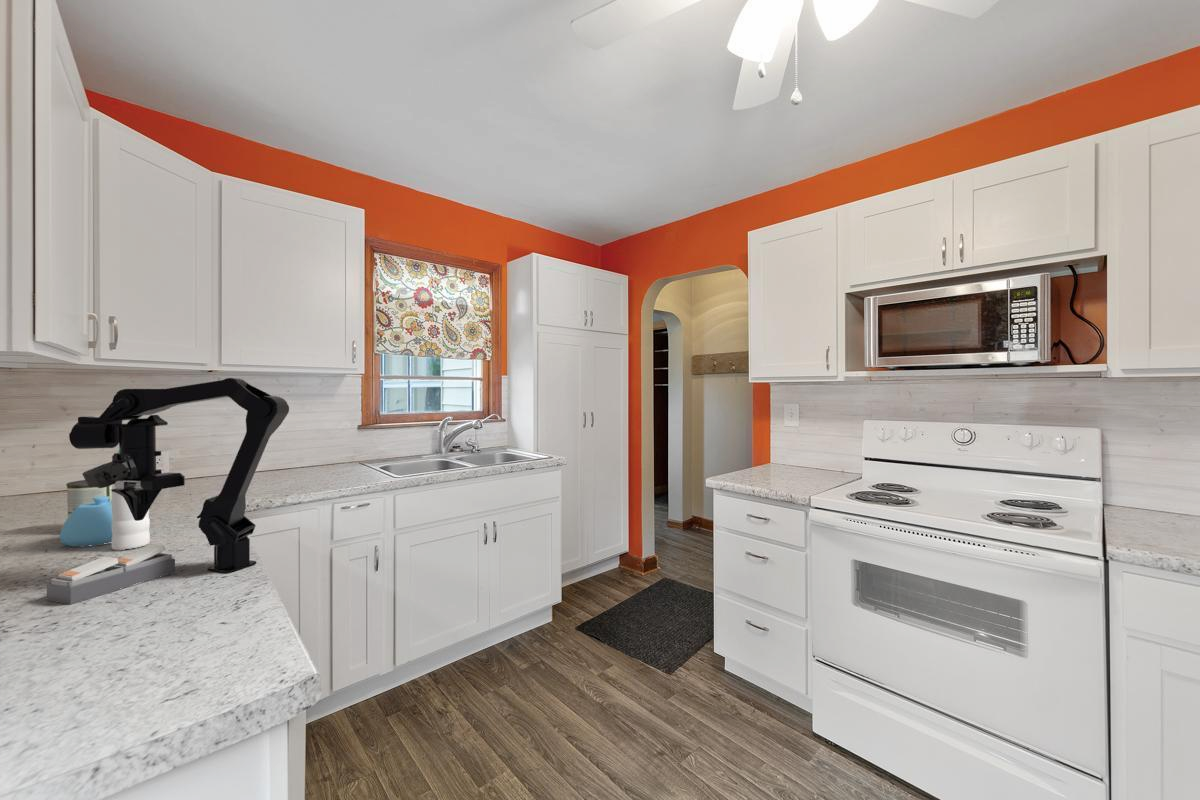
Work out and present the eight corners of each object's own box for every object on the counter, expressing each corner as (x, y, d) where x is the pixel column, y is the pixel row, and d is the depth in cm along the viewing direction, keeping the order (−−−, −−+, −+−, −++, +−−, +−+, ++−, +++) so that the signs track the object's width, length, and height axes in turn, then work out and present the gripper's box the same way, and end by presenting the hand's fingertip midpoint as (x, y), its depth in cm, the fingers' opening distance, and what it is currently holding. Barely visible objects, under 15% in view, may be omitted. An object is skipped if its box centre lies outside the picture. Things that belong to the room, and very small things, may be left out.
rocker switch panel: (175, 572, 106) (175, 554, 106) (70, 604, 90) (70, 583, 90) (152, 569, 108) (152, 551, 108) (46, 600, 92) (46, 579, 92)
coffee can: (65, 530, 140) (65, 481, 140) (115, 523, 148) (115, 476, 148) (68, 537, 133) (68, 485, 133) (121, 529, 141) (120, 480, 141)
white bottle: (126, 552, 120) (125, 450, 120) (103, 550, 122) (103, 449, 122) (157, 543, 127) (156, 447, 127) (135, 542, 129) (135, 446, 129)
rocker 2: (165, 549, 105) (163, 545, 105) (127, 568, 99) (125, 563, 99) (152, 548, 107) (151, 543, 106) (113, 566, 100) (112, 561, 100)
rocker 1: (118, 563, 98) (117, 557, 97) (73, 582, 91) (71, 576, 91) (105, 561, 99) (103, 556, 98) (59, 579, 92) (57, 574, 92)
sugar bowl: (154, 534, 136) (154, 493, 136) (84, 551, 121) (84, 504, 121) (116, 531, 140) (116, 490, 140) (44, 546, 125) (44, 501, 125)
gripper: (58, 450, 100) (59, 527, 100) (124, 452, 95) (126, 532, 95) (123, 445, 110) (124, 514, 111) (186, 446, 106) (187, 519, 106)
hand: (138, 520), depth 105 cm, fingers closed
